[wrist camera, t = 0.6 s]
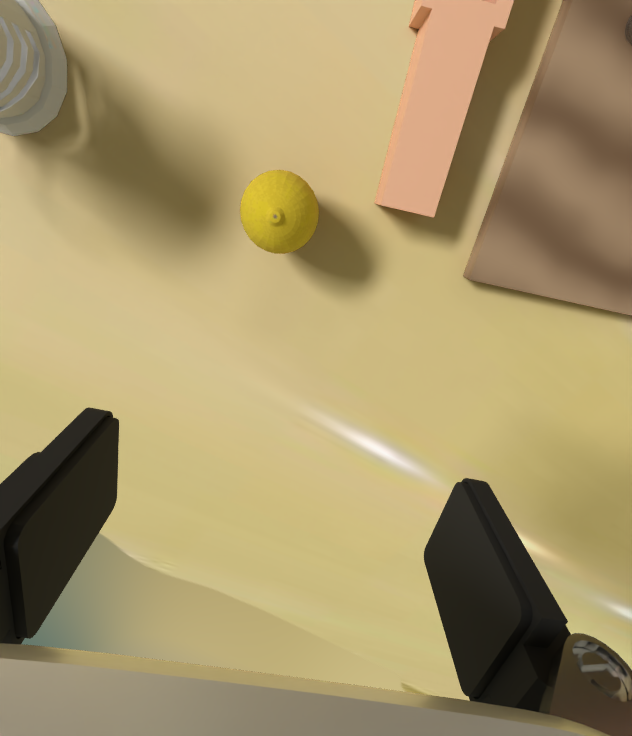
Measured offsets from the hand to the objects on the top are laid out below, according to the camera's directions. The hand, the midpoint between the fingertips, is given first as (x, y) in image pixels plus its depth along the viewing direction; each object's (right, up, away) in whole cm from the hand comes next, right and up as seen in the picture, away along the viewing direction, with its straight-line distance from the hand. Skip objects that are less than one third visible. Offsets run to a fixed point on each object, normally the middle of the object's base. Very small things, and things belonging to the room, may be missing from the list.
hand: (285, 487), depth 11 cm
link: (+9, +23, +18) cm, 31 cm away
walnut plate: (+24, +20, +20) cm, 37 cm away
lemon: (-2, +16, +21) cm, 27 cm away
